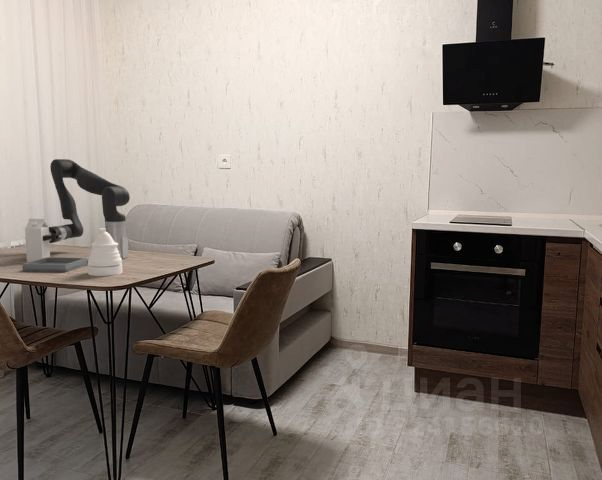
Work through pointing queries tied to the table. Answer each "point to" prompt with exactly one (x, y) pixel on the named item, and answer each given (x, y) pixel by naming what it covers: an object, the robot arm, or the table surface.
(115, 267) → the honey pot
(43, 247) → the milk carton
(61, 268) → the charcoal tray
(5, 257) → the table surface
